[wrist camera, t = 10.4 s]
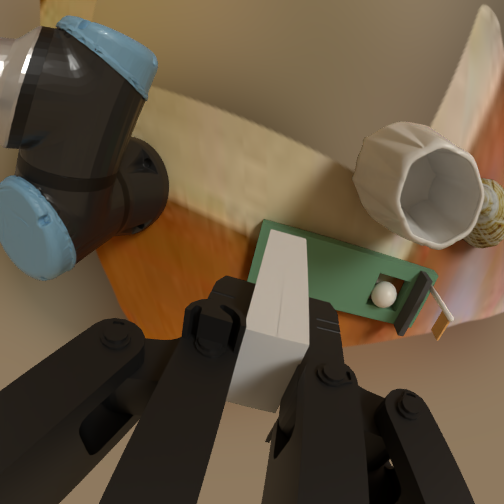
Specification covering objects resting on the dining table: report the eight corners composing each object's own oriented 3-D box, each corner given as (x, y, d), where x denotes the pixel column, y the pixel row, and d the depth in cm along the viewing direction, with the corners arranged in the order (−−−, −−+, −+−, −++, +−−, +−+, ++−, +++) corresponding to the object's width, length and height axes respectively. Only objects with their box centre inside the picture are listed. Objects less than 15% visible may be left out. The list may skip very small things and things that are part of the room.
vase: (374, 237, 42) (405, 290, 28) (329, 148, 38) (347, 161, 24) (452, 195, 37) (509, 230, 23) (415, 105, 33) (470, 100, 19)
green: (248, 279, 47) (232, 326, 36) (263, 219, 43) (251, 253, 32) (407, 320, 46) (427, 368, 35) (433, 270, 42) (464, 312, 31)
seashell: (479, 257, 39) (491, 268, 31) (441, 216, 42) (445, 217, 34) (514, 212, 34) (533, 213, 26) (476, 170, 37) (487, 161, 29)
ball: (362, 301, 44) (383, 316, 41) (372, 279, 42) (394, 293, 39) (374, 295, 46) (393, 308, 44) (384, 274, 44) (404, 287, 42)
